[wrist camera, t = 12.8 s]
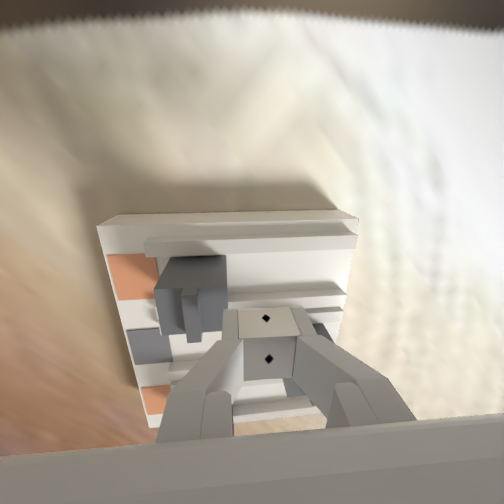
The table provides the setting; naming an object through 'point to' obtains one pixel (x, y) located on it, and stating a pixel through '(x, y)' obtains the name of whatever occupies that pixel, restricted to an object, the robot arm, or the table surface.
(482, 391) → the table surface
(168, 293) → the tab
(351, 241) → the switch board
